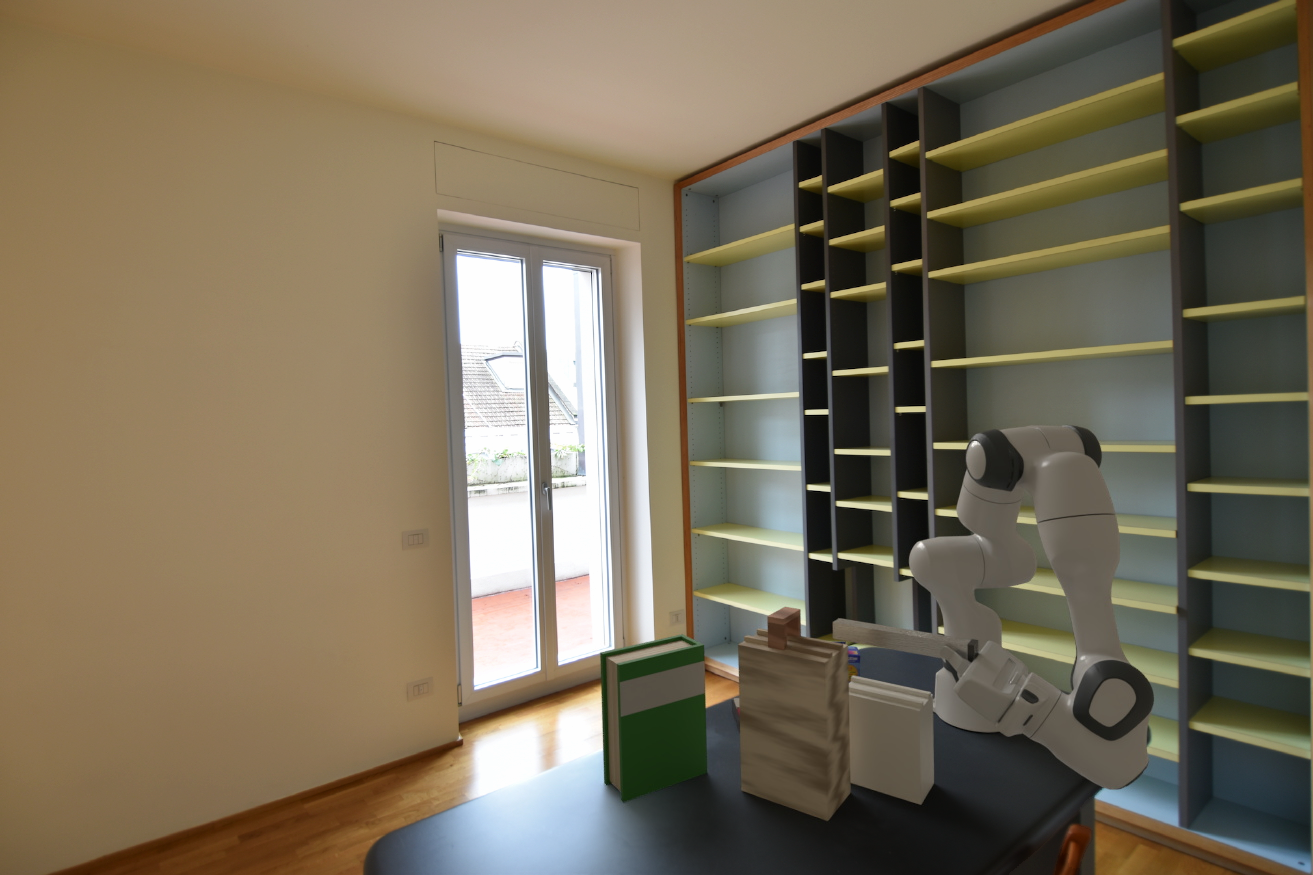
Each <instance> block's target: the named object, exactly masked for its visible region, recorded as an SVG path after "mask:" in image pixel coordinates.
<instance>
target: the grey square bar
mask: <svg viewBox="0 0 1313 875" xmlns="http://www.w3.org/2000/svg"><path fill="white" fill-rule="evenodd" d="M832 639H834V640H838V641H839V640H840V641H843V642H850V643H855V644H856V643H857V644H860V645H867V646H872V647H878V648H884V649H889V650H893V651H894V650H895V651H899V652H906V653H910V654H917V655H921V656H928V657H933V658H937V659H938V658H939V659H945V658H944V657H942V656H941V655H940V651H941V649H942V648H943V647H944V646H945V645H949V646H951V647H952V648H954V649H955V650H956V651H955V652H956V653H957V654H958V655H960V656H961V657H962V658H963V659H966V660H968V661H969V662H971V663H972V662H973V660H974V659H975V658H976V656H977V655H978V654H979V645H978V640H975V639H972V640H970V639H964V638H958V637H951V636H945V635H943V634H938V633H932V632H925V631H920V630H913V629H907V628H903V627H902V628H901V627H897V626H896V627H895V626H889V625H882V624H877V623H870V622H866V621H865V622H864V621H859V620H852V619H846V618H839V617H838V618H837V619H836V620H834V621H832Z"/></svg>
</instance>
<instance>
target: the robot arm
mask: <svg viewBox="0 0 1313 875" xmlns="http://www.w3.org/2000/svg"><path fill="white" fill-rule="evenodd" d="M964 459H965V460H964V461H965V467H966V471H965V474H964V476H963V481H962V485H961V488H960V493H959V497H958V499H957V504H956V514H957V515H956V516H957V518H958V521H959V522H960V523H961V524H962V525H963V527H965V528H966V529H968V530H969V531H970V532H972V533H973V534H971V535H959V536H958V535H956V536H955V535H953V536H951V535H950V536H936V537H932V538H927V539H923V540H919V541H917V542H916V543H915V544H914V545H913V547H912V549H911V550H910V553H909V556H908V557H909V558H908V564H909V570H910V572H911V575H912V577H913V578H914V579H915V581H916V582H918V583H919V585H920V586H922V587H923V588H925V589H926V590H927V591H928V592H930V594H931V595H932V596H933V597H934V598H935V600H936V602H937V604H938V606H939V608H940V610H941V615H942V619H943V631H944V635H945V636H951V637H958V638H964V639H970V640H972V639H975V640H978V645H979V654H978V655H977V656H976V658H975V659H974V660H973V662H972V663H971V662H969V661H968V660H966V659H963V658H962V657H961V656H960V655H958V654H957V653H956V652H955V651H956V650H955V649H954V648H952V647H951V646H949V645H945V646H944V647H943V648H942V649H941V651H940V655H941V656H942V657H944V658H945V659H942V658H941V659H942V666H943V667H942V668H940V670H938V671H937V672H936V673H935V684H934V685H935V686H934V697H933V713H935V714H936V715H937V716H938V717H939V718H940V719H941V720H942V721H943V722H945V723H947V724H949V725H951V726H954V727H957V728H959V729H963V730H967V731H972V732H979V733H997V732H1000V733H1001V734H1003V735H1004V736H1005V737H1012V736H1015V735H1016V736H1017V735H1022V734H1023V735H1024V736H1026V737H1027V738H1029V739H1030V740H1032V741H1034V742H1036V743H1039V744H1040V745H1042V746H1043V747H1045V748H1046V749H1048V750H1049V751H1050V752H1051V753H1052V755H1054V757H1055V758H1056V759H1057V760H1059V761H1060V762H1061V763H1063V764H1064V765H1066V766H1067V767H1068V768H1070V769H1071V770H1073V771H1074V772H1076V773H1078V774H1079V775H1080V776H1082V777H1083V778H1084V779H1087V781H1088V780H1089V781H1090V782H1092V783H1094V784H1096V785H1097V786H1099V787H1102V788H1103V789H1107V790H1114V791H1115V790H1116V791H1117V790H1122V789H1124V788H1126V787H1129V786H1130V785H1132V784H1133V783H1135V781H1137V780H1138V779H1139V778H1140V777H1141V776H1142V774H1144V772H1145V771H1146V769H1147V768H1148V765H1149V762H1150V757H1149V754H1148V740H1147V739H1148V738H1147V737H1148V727H1149V722H1150V717H1151V714H1152V711H1153V707H1154V704H1155V703H1154V702H1155V694H1154V690H1153V686H1152V684H1151V683H1150V681H1149V680H1148V678H1147V677H1146V675H1145V674H1144V673H1143V672H1142V671H1140V670H1139V669H1138V668H1137V667H1135V666H1134V665H1132V664H1131V663H1130V661H1129V660H1128V659H1127V657H1126V655H1125V653H1124V651H1123V649H1122V648H1123V647H1122V646H1121V641H1120V637H1119V636H1120V635H1119V633H1118V626H1117V622H1116V618H1115V613H1114V612H1115V611H1114V607H1113V600H1112V586H1113V582H1114V579H1115V574H1116V571H1117V569H1118V566H1119V564H1120V560H1121V540H1120V539H1121V538H1120V529H1119V524H1118V520H1117V516H1116V511H1115V507H1114V504H1113V501H1112V497H1111V493H1110V492H1109V489H1108V485H1107V483H1106V481H1105V479H1104V476H1103V474H1102V473H1101V470H1100V467H1101V464H1102V461H1103V460H1102V459H1103V451H1102V446H1101V444H1100V442H1099V439H1098V437H1097V436H1096V435H1095V434H1094V433H1093V432H1092V431H1091V430H1090V429H1088V428H1086V427H1081V426H1079V425H1071V424H1064V425H1061V426H1060V425H1047V424H1046V425H1044V424H1043V425H1041V424H1040V425H1039V424H1038V425H1037V424H1036V425H1027V426H1018V427H1017V426H1016V427H1009V428H1003V429H996V428H993V429H988V430H985V431H981V432H977V433H976V434H974V435H973V436H972V437H971V439H969V442H968V444H967V446H966V448H965V457H964ZM1026 491H1027V492H1028V493H1029V494H1030V495H1031V498H1032V502H1033V509H1034V515H1035V516H1034V517H1035V522H1036V526H1037V531H1038V534H1039V538H1040V542H1041V544H1042V547H1043V550H1044V553H1045V556H1046V557H1047V558H1046V559H1047V560H1048V562H1049V564H1050V566H1051V569H1052V571H1053V572H1054V575H1055V576H1056V579H1057V581H1058V582H1059V584H1060V586H1061V588H1062V591H1063V593H1064V595H1065V598H1066V602H1067V603H1066V604H1067V607H1068V612H1069V618H1070V621H1071V623H1070V624H1071V627H1072V632H1073V636H1074V637H1073V638H1074V643H1075V658H1074V662H1073V665H1072V667H1071V672H1070V680H1069V681H1070V688H1071V693H1069V694H1067V693H1065V692H1063V691H1061V689H1059V688H1057V687H1055V686H1054V685H1053V684H1052V683H1049V682H1048V681H1046V680H1045V679H1044V678H1042V677H1041V676H1039V675H1038V674H1036V673H1035V672H1034V671H1031V672H1030V673H1029V668H1028V667H1027V665H1026V664H1025V663H1024V662H1023V661H1021V660H1020V659H1019V658H1017V657H1016V656H1015V655H1013V654H1012V653H1011V652H1010V651H1008V650H1007V649H1006V648H1004V647H1003V639H1002V638H1003V637H1002V636H1003V635H1002V634H1003V633H1002V632H1003V630H1002V628H1003V626H1002V625H1003V624H1002V621H1001V619H1000V617H999V616H998V615H999V614H997V612H996V611H994V610H993V609H992V608H990V607H988V606H986V605H984V604H982V603H980V602H978V601H977V600H976V597H975V590H976V589H997V588H998V589H1001V588H1002V589H1003V588H1004V589H1005V588H1009V587H1010V588H1012V587H1015V586H1019V585H1023V584H1024V585H1025V584H1027V583H1029V582H1030V581H1032V580H1033V578H1034V576H1035V575H1036V572H1037V568H1038V558H1037V555H1036V552H1035V550H1034V548H1033V547H1032V546H1031V544H1030V543H1029V542H1028V541H1027V540H1026V539H1024V538H1023V537H1022V536H1021V535H1020V534H1019V532H1018V530H1017V529H1018V528H1017V521H1018V519H1019V518H1018V517H1019V514H1020V509H1021V507H1022V503H1023V499H1024V496H1025V492H1026Z"/></svg>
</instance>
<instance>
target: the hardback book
mask: <svg viewBox="0 0 1313 875" xmlns="http://www.w3.org/2000/svg"><path fill="white" fill-rule="evenodd" d="M599 655H600V656H599V657H600V683H601V685H600V687H601V688H600V689H601V721H602V722H601V725H602V726H601V728H602V753H603V754H602V755H603V757H602V758H603V762H602V763H603V784H604V785H605V784H606V785H605V786H608V785H613V786H614V787H615V788H616V789H618V791H619V792H620V800H621V802H622V803H626V802H629V801H631V800H632V801H633V800H636V799H637V798H641V797H643V796H645V795H646V796H647V795H648V794H652V793H654V792H658V791H659V790H663V789H666V788H669V787H671V786H674V785H676V784H679V783H682V782H686V781H688V780H691V779H694V778H697V777H699V776H702V775H705V774H707V773H708V747H707V746H708V745H707V743H708V742H707V706H706V703H707V700H706V699H707V698H706V668H705V666H706V665H705V644H704V643H701V642H700V641H697V640H695V639H693V638H691V637H690V636H688V635H685V634H683V633H681V634H677V635H673V636H667V637H663V638H659V639H655V640H651V641H646V642H641V643H637V644H632V645H627V646H623V647H620V648H619V647H618V648H615V649H611V650H606V651H601V652H599Z"/></svg>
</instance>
